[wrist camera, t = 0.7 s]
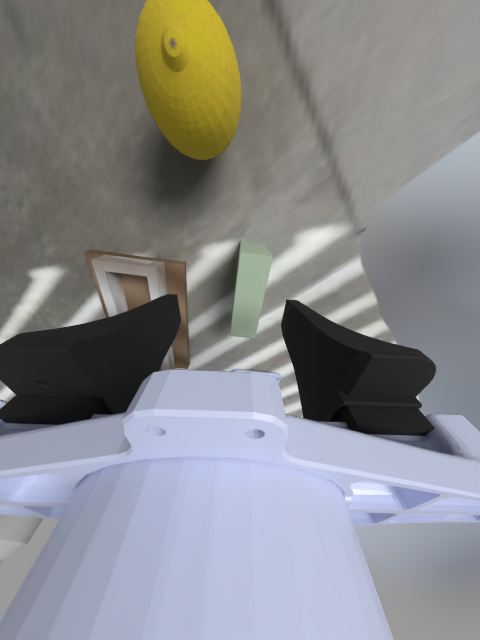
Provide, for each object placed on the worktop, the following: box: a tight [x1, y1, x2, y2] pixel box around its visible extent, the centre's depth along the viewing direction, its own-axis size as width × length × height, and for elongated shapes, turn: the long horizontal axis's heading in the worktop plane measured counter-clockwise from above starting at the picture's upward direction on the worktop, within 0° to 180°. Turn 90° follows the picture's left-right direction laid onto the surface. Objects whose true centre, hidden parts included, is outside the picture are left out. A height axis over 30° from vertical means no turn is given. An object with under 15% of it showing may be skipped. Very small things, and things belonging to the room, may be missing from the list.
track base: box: [85, 250, 190, 371], centre depth 22 cm, size 16×10×3 cm, turn 173°
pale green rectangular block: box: [230, 240, 273, 338], centre depth 18 cm, size 8×2×6 cm, turn 173°
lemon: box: [135, 0, 241, 160], centre depth 10 cm, size 6×6×8 cm
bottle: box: [0, 515, 43, 565], centre depth 25 cm, size 5×5×25 cm
